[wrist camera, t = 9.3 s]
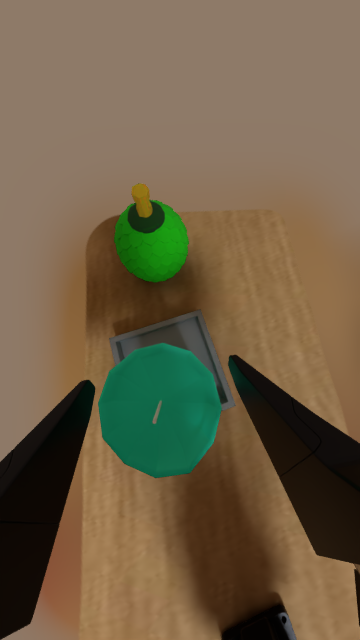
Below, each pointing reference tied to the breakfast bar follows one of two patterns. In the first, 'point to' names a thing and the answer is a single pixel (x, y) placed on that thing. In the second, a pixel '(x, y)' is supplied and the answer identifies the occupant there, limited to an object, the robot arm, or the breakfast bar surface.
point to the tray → (181, 334)
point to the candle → (160, 410)
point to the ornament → (150, 238)
